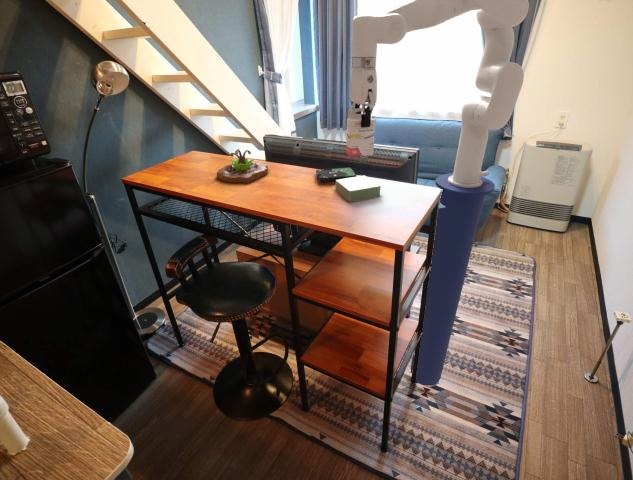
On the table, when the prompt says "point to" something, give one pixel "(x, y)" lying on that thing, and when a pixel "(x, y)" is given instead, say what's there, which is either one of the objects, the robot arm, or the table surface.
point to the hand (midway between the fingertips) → (360, 124)
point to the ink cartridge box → (359, 135)
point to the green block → (357, 188)
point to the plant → (242, 170)
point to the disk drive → (334, 174)
